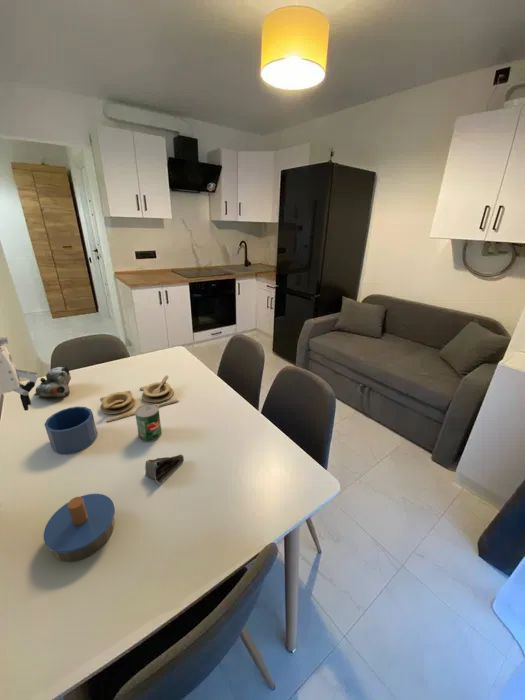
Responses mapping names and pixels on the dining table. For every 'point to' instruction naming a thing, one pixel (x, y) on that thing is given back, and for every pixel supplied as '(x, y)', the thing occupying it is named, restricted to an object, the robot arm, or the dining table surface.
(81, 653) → the dining table surface
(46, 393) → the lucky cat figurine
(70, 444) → the pot
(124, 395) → the tableware set
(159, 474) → the chocolate cake
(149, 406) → the canned tomato
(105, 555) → the dining table surface
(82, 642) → the dining table surface
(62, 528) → the pot lid
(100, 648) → the dining table surface
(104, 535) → the bowl
